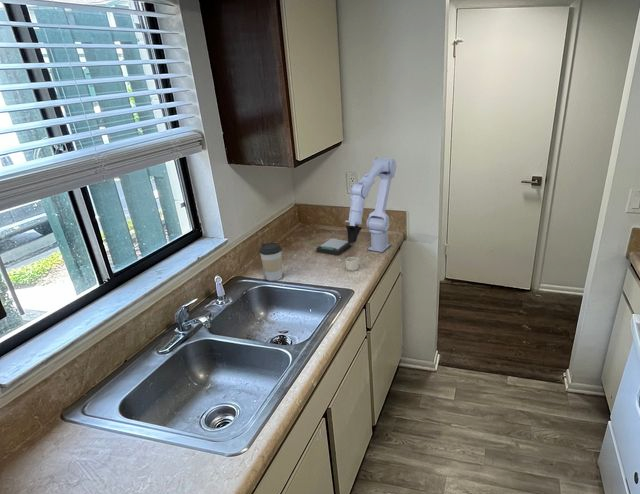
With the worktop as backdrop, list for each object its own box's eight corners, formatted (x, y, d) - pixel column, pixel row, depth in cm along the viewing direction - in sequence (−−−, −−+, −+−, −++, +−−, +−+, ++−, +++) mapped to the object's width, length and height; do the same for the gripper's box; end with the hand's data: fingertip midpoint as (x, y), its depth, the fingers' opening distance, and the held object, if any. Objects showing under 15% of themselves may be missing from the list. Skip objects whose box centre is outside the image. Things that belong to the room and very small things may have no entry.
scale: (329, 242, 221) (329, 237, 220) (350, 246, 217) (350, 241, 216) (316, 251, 211) (316, 246, 210) (338, 255, 207) (337, 250, 206)
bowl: (349, 264, 197) (349, 256, 196) (360, 266, 196) (360, 258, 194) (343, 269, 193) (343, 260, 191) (354, 272, 191) (354, 263, 189)
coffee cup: (288, 272, 190) (284, 241, 184) (280, 282, 182) (276, 249, 176) (268, 271, 191) (263, 240, 185) (259, 281, 183) (254, 248, 177)
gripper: (349, 210, 196) (345, 240, 197) (344, 209, 181) (340, 241, 182) (365, 213, 196) (360, 243, 197) (361, 212, 181) (356, 244, 182)
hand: (351, 242), depth 189 cm, fingers open, 7 cm apart
